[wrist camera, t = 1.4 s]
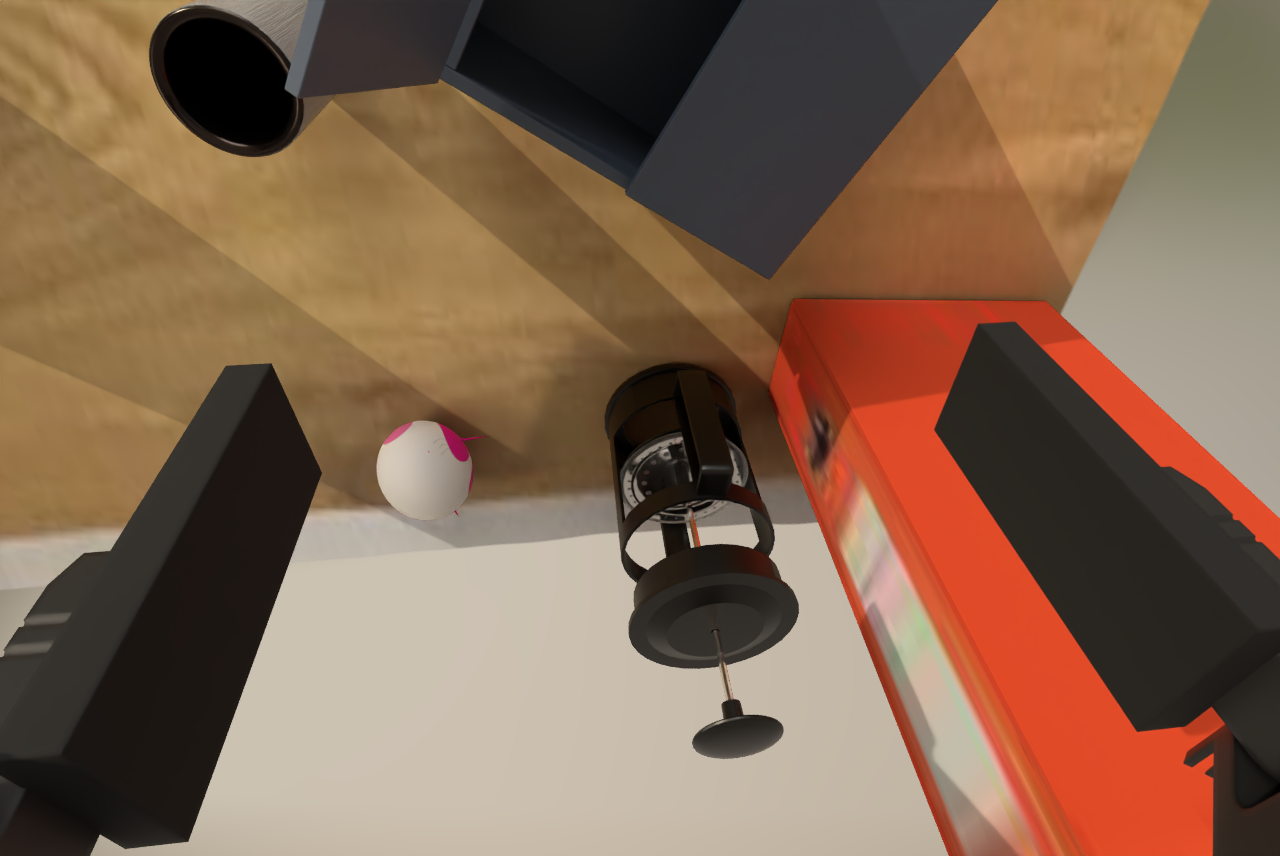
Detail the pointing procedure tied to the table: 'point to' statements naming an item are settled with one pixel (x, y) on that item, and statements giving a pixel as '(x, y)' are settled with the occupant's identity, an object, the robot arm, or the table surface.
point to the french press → (698, 544)
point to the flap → (372, 45)
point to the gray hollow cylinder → (233, 73)
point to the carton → (713, 98)
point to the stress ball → (425, 470)
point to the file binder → (984, 587)
